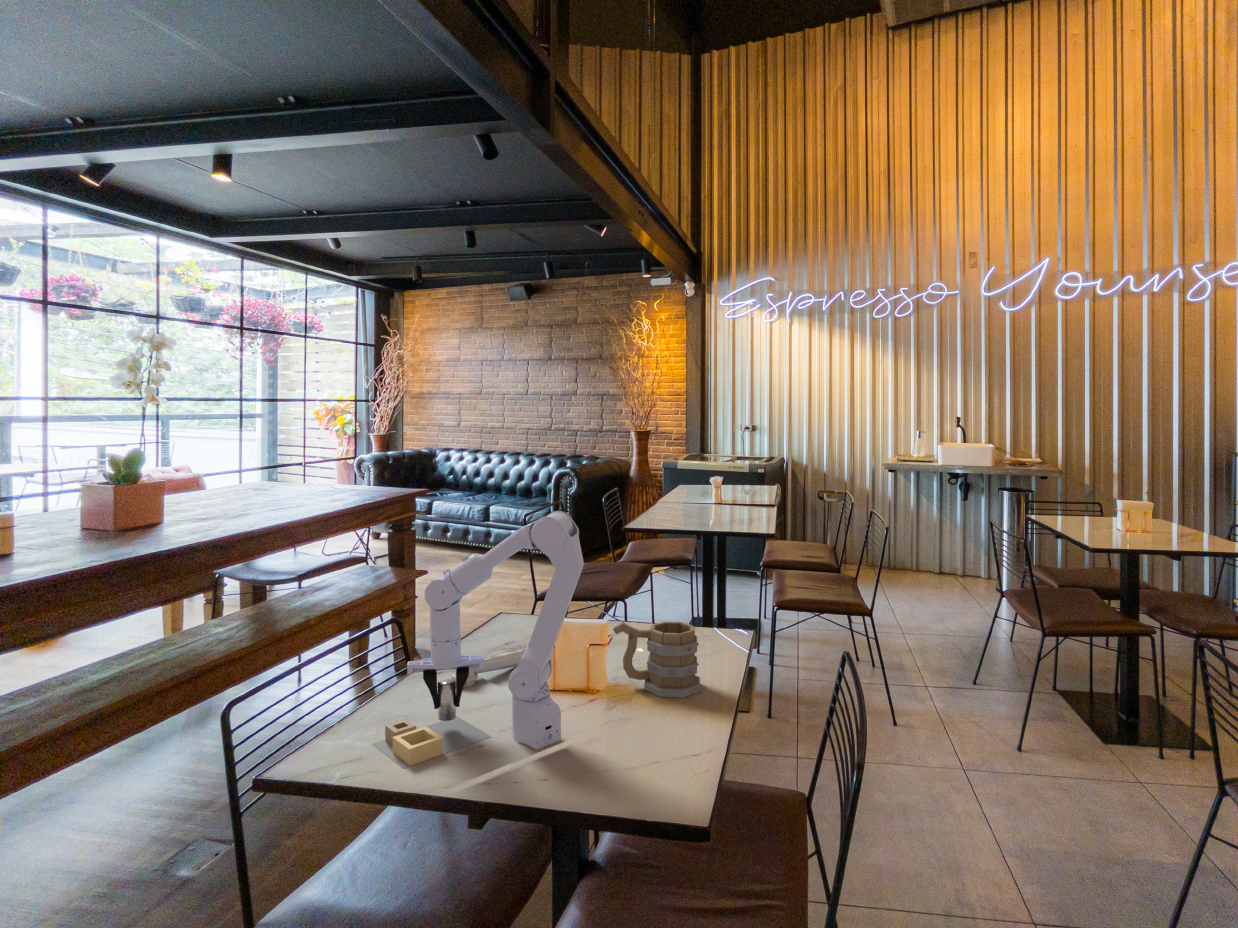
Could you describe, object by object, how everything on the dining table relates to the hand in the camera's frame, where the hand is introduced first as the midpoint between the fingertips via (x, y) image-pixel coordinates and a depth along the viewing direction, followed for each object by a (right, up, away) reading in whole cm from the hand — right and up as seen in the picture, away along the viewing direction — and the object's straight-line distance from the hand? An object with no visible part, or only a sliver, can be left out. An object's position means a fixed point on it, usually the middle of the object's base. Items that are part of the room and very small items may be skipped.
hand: (447, 705), depth 137 cm
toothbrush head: (+4, -4, +32) cm, 33 cm away
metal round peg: (0, -2, 0) cm, 2 cm away
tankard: (+42, -4, +24) cm, 49 cm away
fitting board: (-2, -6, -5) cm, 7 cm away
